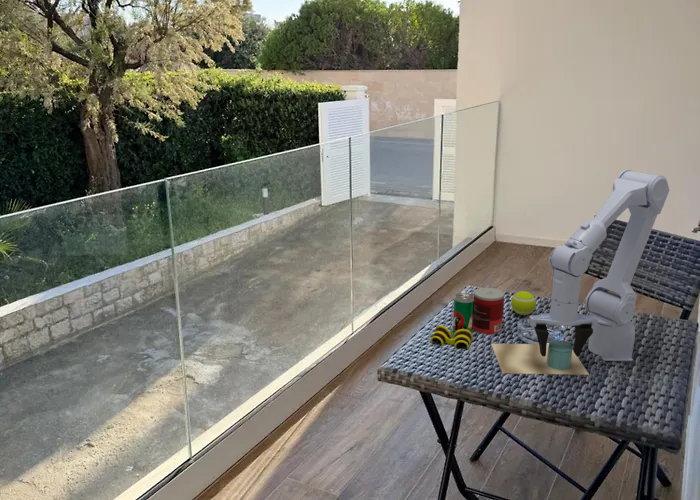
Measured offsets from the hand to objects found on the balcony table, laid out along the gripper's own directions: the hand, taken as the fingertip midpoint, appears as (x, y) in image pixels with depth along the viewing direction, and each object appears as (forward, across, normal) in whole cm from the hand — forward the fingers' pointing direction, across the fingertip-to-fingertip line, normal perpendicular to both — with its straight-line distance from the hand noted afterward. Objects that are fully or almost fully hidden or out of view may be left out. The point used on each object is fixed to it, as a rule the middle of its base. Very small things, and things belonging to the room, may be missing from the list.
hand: (559, 354), depth 139 cm
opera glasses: (+4, +23, -12) cm, 26 cm away
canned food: (+4, +12, -20) cm, 24 cm away
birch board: (+4, +4, -3) cm, 6 cm away
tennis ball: (+4, 0, -32) cm, 32 cm away
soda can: (+4, +20, -16) cm, 25 cm away
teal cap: (+3, 0, 0) cm, 3 cm away
